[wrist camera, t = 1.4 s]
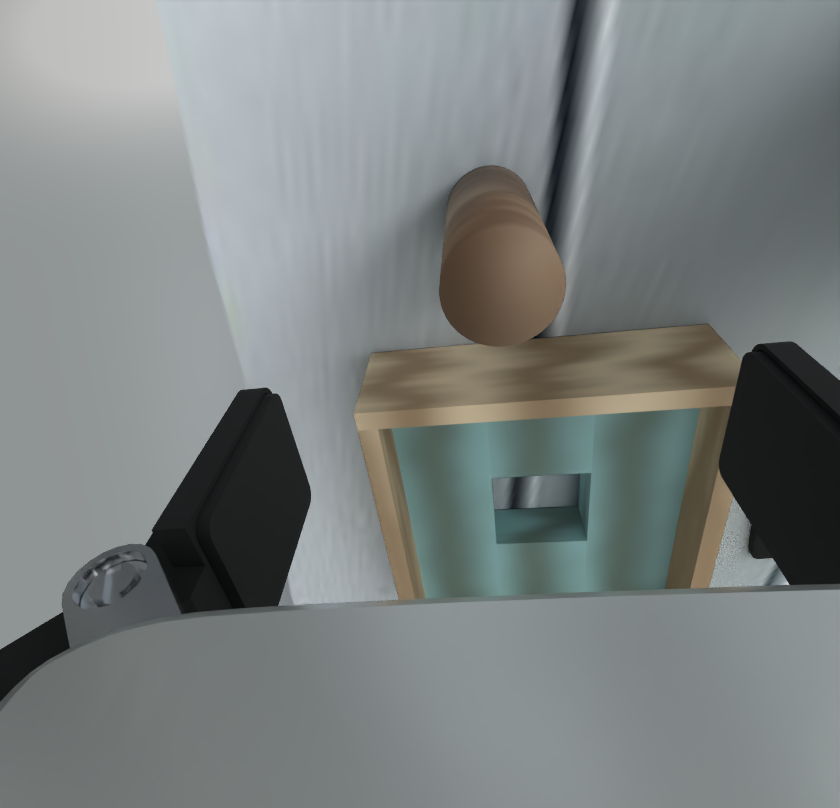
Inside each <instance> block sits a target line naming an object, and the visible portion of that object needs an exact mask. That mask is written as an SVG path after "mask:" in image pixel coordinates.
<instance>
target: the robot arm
mask: <svg viewBox="0 0 840 808" xmlns="http://www.w3.org/2000/svg"><path fill="white" fill-rule="evenodd" d="M719 471H720V474H721V477H722V479H723V480H724V482H725V484H726V485H727V487H728V488H729V490H730V491H731V493H732V495H733V496H734V498H735V499H736V501H737V502H738V504H739V506H740V507H741V509H742V510H743V512H744V513H745V515H746V517H747V518H748V520H749V521H750V523H751V524H752V526H753V528H754V529H755V531H756V532H757V534H758V535H759V537H760V539H761V540H762V542H763V543H764V545H765V546H766V548H767V550H768V551H769V553H770V554H771V556H772V557H773V559H774V561H775V562H776V564H777V565H778V567H779V568H780V570H781V572H782V573H783V575H784V576H785V578H786V580H787V581H788V583H789V584H790V585H775V586H746V587H717V588H688V589H659V590H630V591H605V592H579V593H553V594H528V595H503V596H479V597H454V598H432V599H410V600H388V601H366V602H344V603H322V604H304V605H287V606H278V604H279V601H280V598H281V595H282V592H283V589H284V585H285V582H286V579H287V576H288V573H289V569H290V566H291V563H292V560H293V557H294V554H295V550H296V547H297V544H298V541H299V538H300V534H301V531H302V528H303V525H304V522H305V518H306V515H307V512H308V509H309V506H310V502H311V490H310V485H309V482H308V479H307V476H306V473H305V470H304V467H303V464H302V461H301V458H300V455H299V452H298V449H297V446H296V443H295V440H294V437H293V434H292V431H291V428H290V425H289V422H288V419H287V415H286V412H285V409H284V406H283V403H282V400H281V398H280V396H279V395H278V394H272V392H271V391H270V390H269V389H268V388H258V389H247V390H240V391H239V392H238V393H237V395H236V397H235V398H234V400H233V401H232V403H231V405H230V406H229V408H228V410H227V411H226V413H225V414H224V416H223V417H222V419H221V421H220V422H219V424H218V425H217V427H216V429H215V430H214V432H213V433H212V435H211V436H210V438H209V440H208V441H207V443H206V444H205V446H204V448H203V449H202V451H201V452H200V454H199V456H198V457H197V459H196V460H195V462H194V464H193V465H192V467H191V468H190V470H189V472H188V473H187V475H186V476H185V478H184V480H183V481H182V483H181V484H180V486H179V488H178V489H177V491H176V492H175V494H174V495H173V497H172V499H171V500H170V502H169V504H168V505H167V507H166V508H165V510H164V511H163V513H162V515H161V516H160V518H159V519H158V521H157V523H156V524H155V526H154V527H153V529H152V532H153V534H152V535H151V537H150V538H149V540H148V542H147V543H146V545H142V544H128V545H123V546H119V547H116V548H114V549H111V550H108V551H106V552H104V553H102V554H100V555H99V556H97V557H95V558H94V559H92V560H90V561H89V562H88V563H87V564H85V565H84V566H83V567H82V568H81V569H80V570H78V571H77V572H76V574H75V575H74V576H73V577H72V578H71V580H70V581H69V582H68V584H67V586H66V588H65V590H64V592H63V594H62V608H63V612H62V613H60V614H59V615H57V616H55V617H54V618H52V619H50V620H49V621H47V622H45V623H44V624H42V625H40V626H39V627H37V628H35V629H34V630H32V631H30V632H29V633H27V634H25V635H24V636H22V637H20V638H19V639H17V640H15V641H14V642H12V643H11V644H9V645H7V646H5V647H4V648H2V649H1V650H0V808H840V380H838V379H837V378H836V377H835V376H834V375H832V374H831V373H830V372H829V371H828V370H827V369H825V368H824V367H823V366H822V365H821V364H819V363H818V362H817V361H816V360H815V359H814V358H812V357H811V356H810V355H809V354H808V353H806V352H805V351H804V350H803V349H802V348H801V347H799V346H798V345H797V344H796V343H794V342H777V343H766V344H758V345H756V346H755V347H754V348H753V350H752V352H748V353H746V354H745V355H744V356H743V359H742V362H741V366H740V371H739V375H738V379H737V384H736V388H735V392H734V397H733V401H732V405H731V410H730V414H729V418H728V423H727V427H726V431H725V436H724V440H723V444H722V449H721V453H720V457H719Z"/></svg>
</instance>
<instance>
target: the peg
mask: <svg viewBox="0 0 840 808" xmlns="http://www.w3.org/2000/svg"><path fill="white" fill-rule="evenodd" d="M565 289H566V277H565V271H564V267H563V265H562V262H561V260H560V257H559V255H558V253H557V251H556V249H555V247H554V245H553V242H552V240H551V238H550V236H549V234H548V232H547V230H546V227H545V225H544V223H543V221H542V219H541V217H540V215H539V212H538V210H537V208H536V206H535V204H534V202H533V200H532V197H531V195H530V193H529V191H528V189H527V187H526V185H525V184H524V182H523V181H522V179H521V178H520V177H519V176H518V175H516V174H515V173H514V172H512V171H510V170H509V169H506V168H503V167H499V166H483V167H479V168H476V169H474V170H472V171H470V172H468V173H467V174H465V175H464V176H463V177H462V178H461V179H460V180H459V181H458V182H457V183H456V185H455V186H454V188H453V189H452V191H451V193H450V196H449V199H448V203H447V212H446V222H445V233H444V243H443V254H442V264H441V275H440V286H439V296H440V302H441V306H442V309H443V312H444V314H445V316H446V318H447V320H448V321H449V322H450V324H451V325H452V326H453V327H454V328H455V330H457V331H458V332H459V333H460V334H461V335H463V336H464V337H466V338H467V339H469V340H471V341H473V342H476V343H479V344H482V345H487V346H495V347H503V346H511V345H515V344H519V343H522V342H525V341H527V340H529V339H531V338H533V337H535V336H536V335H538V334H539V333H541V332H542V331H543V330H544V329H545V328H546V327H547V326H548V325H549V324H550V323H551V322H552V321H553V319H554V318H555V317H556V315H557V313H558V312H559V310H560V308H561V305H562V303H563V300H564V296H565Z"/></svg>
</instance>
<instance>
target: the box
mask: <svg viewBox="0 0 840 808" xmlns="http://www.w3.org/2000/svg"><path fill="white" fill-rule="evenodd" d="M741 362H742V361H741V360H740V358H739V357H738V356H737V355H736V354H735V353H734V352H733V351H732V349H731V348H730V347H729V346H728V345H727V344H726V343H725V342H724V341H723V339H722V338H721V337H720V336H719V335H718V334H717V333H716V332H715V330H714V329H713V328H712V327H711V326H710V325H709V324H702V325H690V326H678V327H667V328H655V329H644V330H632V331H620V332H609V333H597V334H586V335H574V336H562V337H551V338H539V339H529V340H527V341H525V342H522V343H519V344H515V345H511V346H503V347H495V346H487V345H482V344H470V345H458V346H446V347H435V348H423V349H412V350H400V351H388V352H377V353H371V356H370V360H369V363H368V367H367V370H366V373H365V377H364V380H363V383H362V387H361V390H360V393H359V397H358V400H357V403H356V407H355V410H354V418H355V422H356V426H357V430H358V434H359V439H360V443H361V447H362V451H363V455H364V459H365V463H366V467H367V471H368V475H369V479H370V484H371V488H372V492H373V496H374V500H375V504H376V508H377V512H378V516H379V520H380V524H381V528H382V533H383V537H384V541H385V545H386V549H387V553H388V557H389V561H390V565H391V569H392V573H393V578H394V582H395V586H396V590H397V594H398V598H399V600H410V599H432V598H454V597H479V596H503V595H528V594H553V593H579V592H605V591H630V590H659V589H688V588H709V585H710V581H711V578H712V574H713V570H714V566H715V563H716V559H717V555H718V551H719V548H720V544H721V540H722V536H723V533H724V529H725V525H726V521H727V517H728V514H729V510H730V506H731V502H732V499H733V495H732V493H731V491H730V490H729V488H728V487H727V485H726V484H725V482H724V480H723V479H722V477H721V474H720V471H719V457H720V453H721V449H722V444H723V440H724V436H725V431H726V427H727V423H728V418H729V414H730V410H731V405H732V401H733V397H734V392H735V388H736V384H737V379H738V375H739V371H740V366H741ZM562 474H580V481H579V502H578V506H572V507H550V508H529V509H507V510H494V502H493V489H492V478H506V477H524V476H543V475H562Z"/></svg>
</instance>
